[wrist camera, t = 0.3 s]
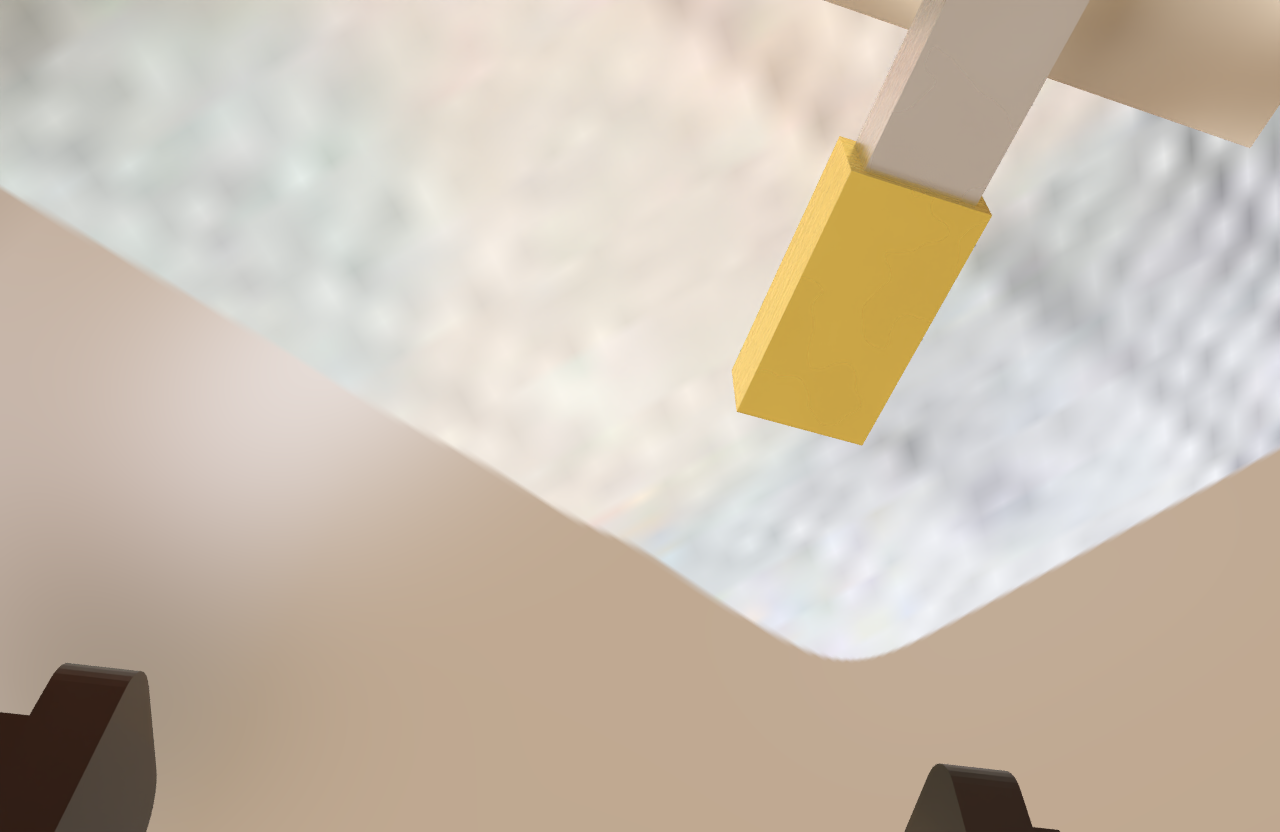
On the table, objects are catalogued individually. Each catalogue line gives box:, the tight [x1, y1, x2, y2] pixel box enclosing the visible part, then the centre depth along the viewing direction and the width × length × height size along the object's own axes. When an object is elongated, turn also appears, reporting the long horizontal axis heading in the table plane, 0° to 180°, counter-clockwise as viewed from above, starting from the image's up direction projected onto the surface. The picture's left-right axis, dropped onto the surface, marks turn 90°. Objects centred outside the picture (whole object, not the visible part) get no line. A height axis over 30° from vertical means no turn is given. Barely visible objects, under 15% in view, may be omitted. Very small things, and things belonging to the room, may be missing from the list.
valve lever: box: [732, 0, 1090, 445], centre depth 23 cm, size 15×3×3 cm, turn 162°
